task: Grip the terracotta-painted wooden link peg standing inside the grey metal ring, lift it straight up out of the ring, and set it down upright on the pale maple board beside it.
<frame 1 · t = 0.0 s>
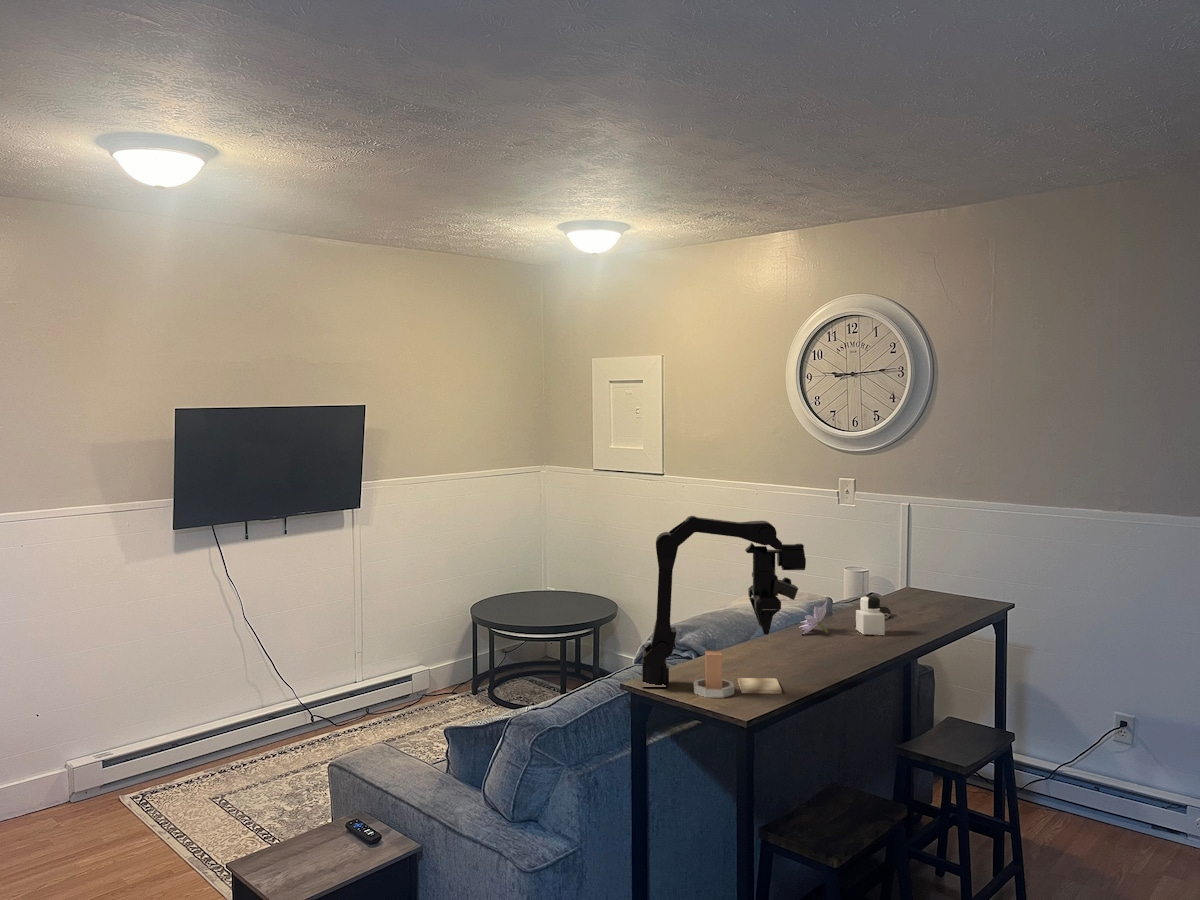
hand: (764, 630, 229), 15 cm above the table, tool pointing down, fingers open, 9 cm apart
hairbrush: (870, 622, 307), on the table
metal ring: (713, 691, 225), on the table
medicine bottle: (870, 634, 287), on the table
link peg: (713, 672, 225), in the metal ring
maple board: (759, 687, 229), on the table
water lily: (813, 633, 289), on the table
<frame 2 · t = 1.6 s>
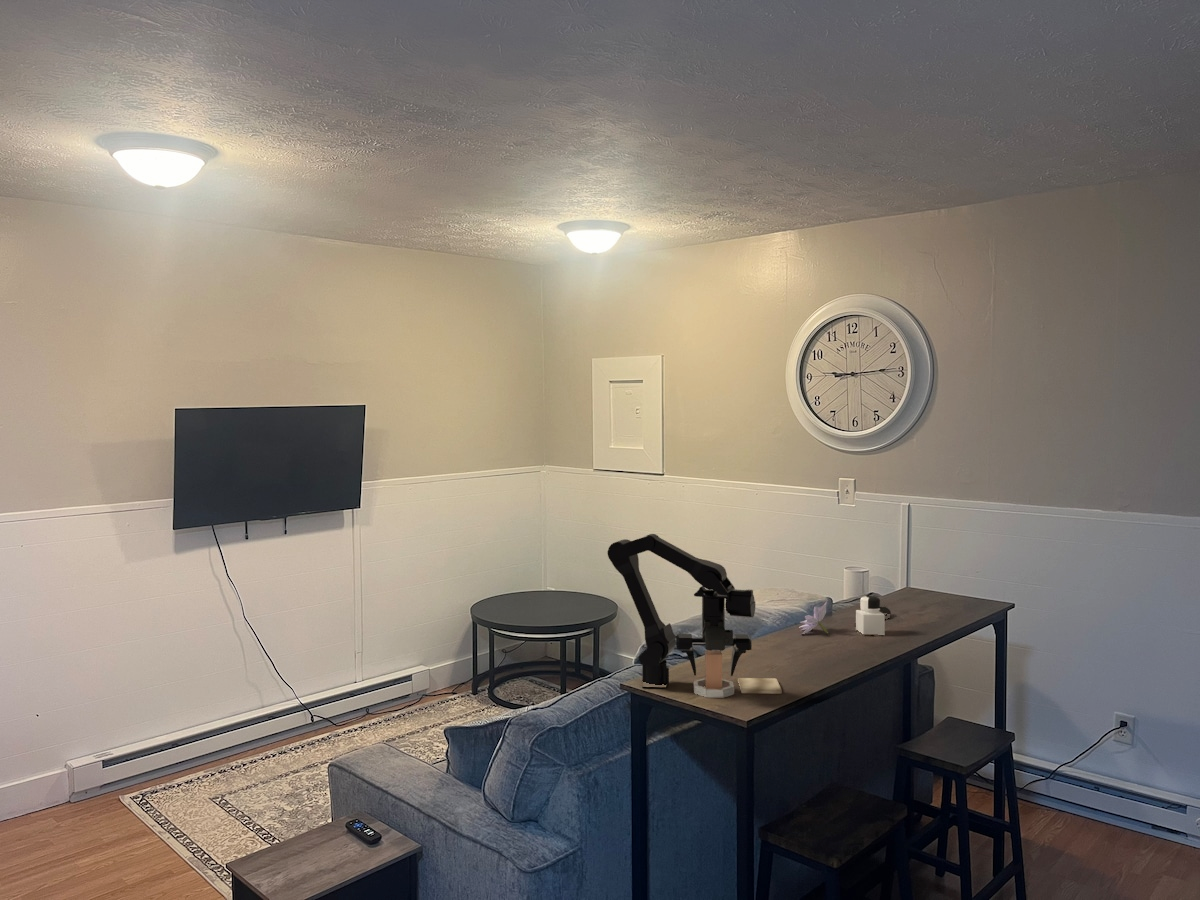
hand: (713, 675, 225), 4 cm above the table, tool pointing down, fingers open, 9 cm apart
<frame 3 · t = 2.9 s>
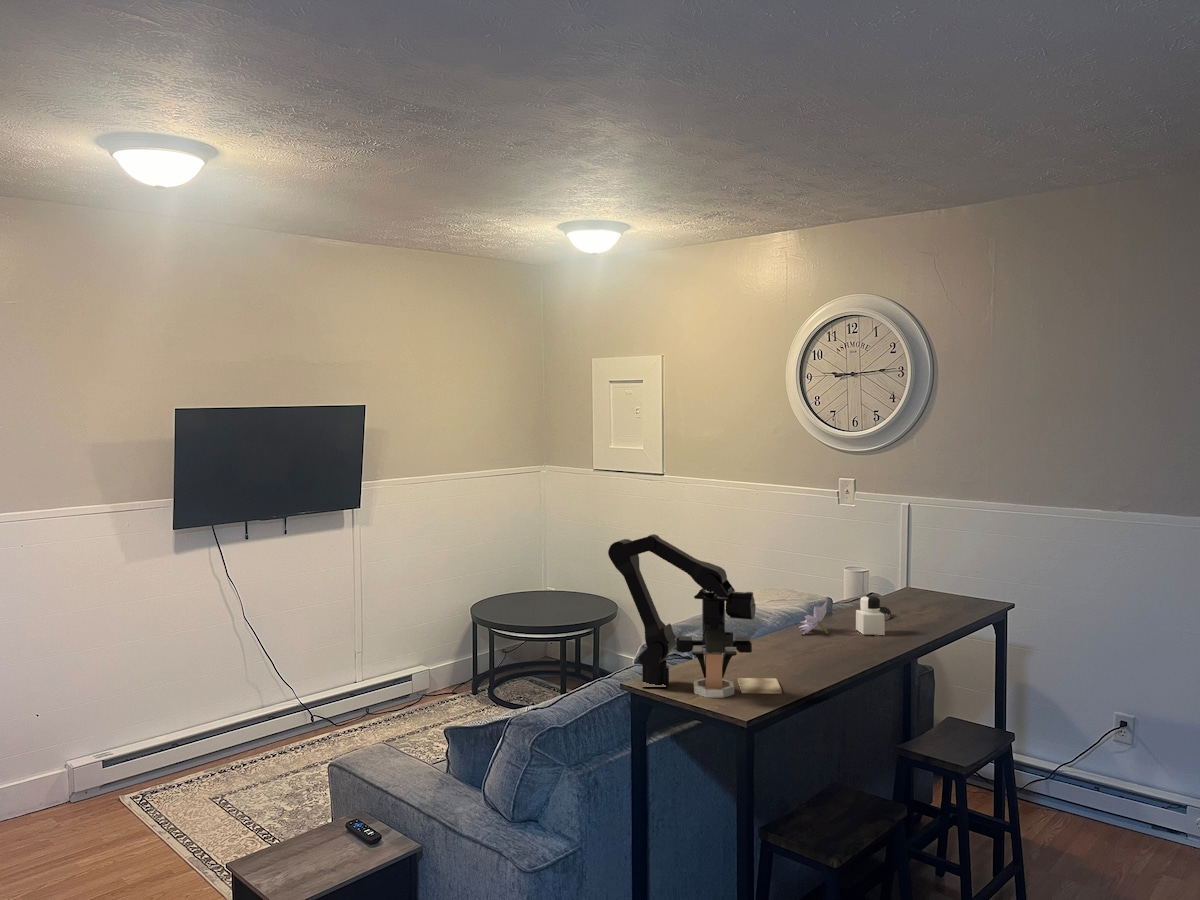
hand: (713, 677, 225), 4 cm above the table, tool pointing down, fingers closed on link peg, 4 cm apart
link peg: (713, 672, 225), in the metal ring, touching gripper
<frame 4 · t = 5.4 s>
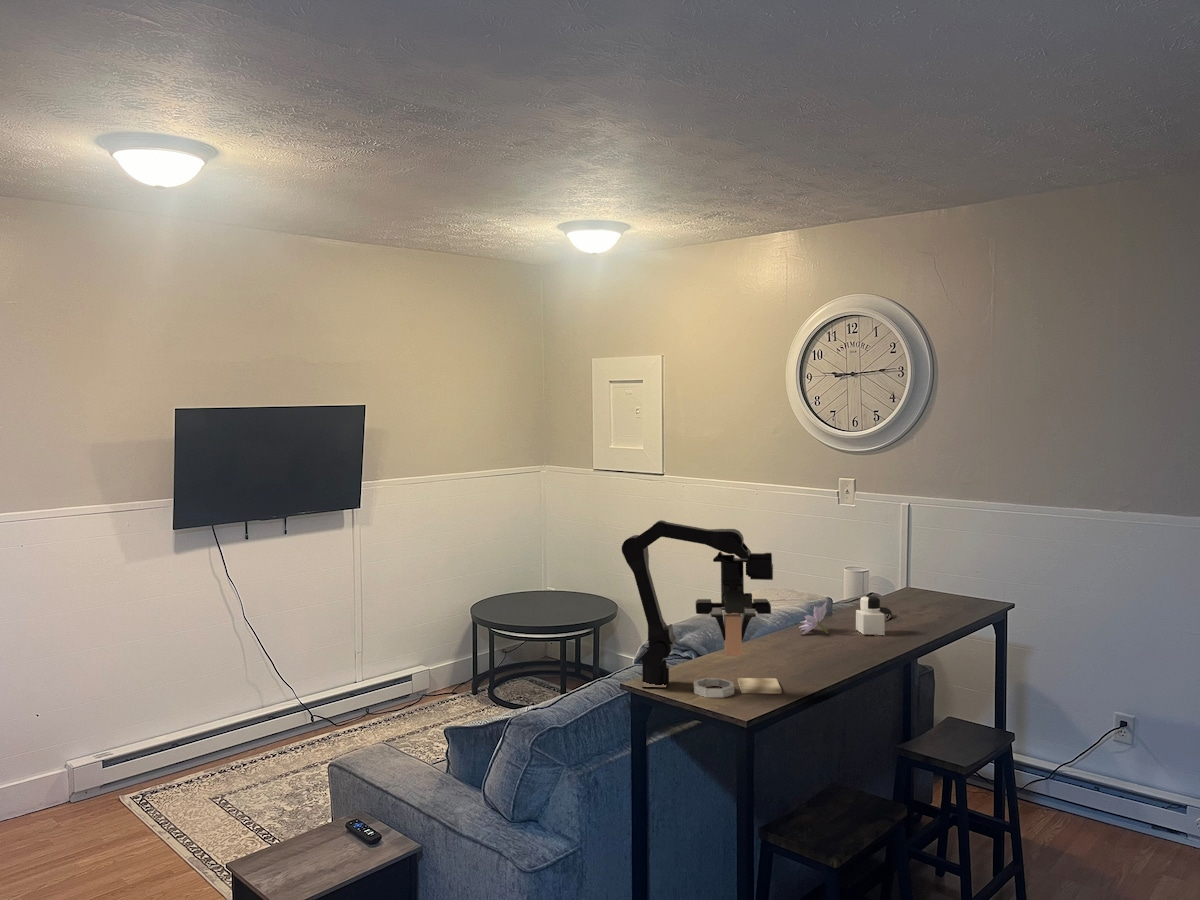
hand: (733, 640, 226), 13 cm above the table, tool pointing down, fingers closed on link peg, 4 cm apart
link peg: (732, 634, 226), point 14 cm above the table, touching gripper
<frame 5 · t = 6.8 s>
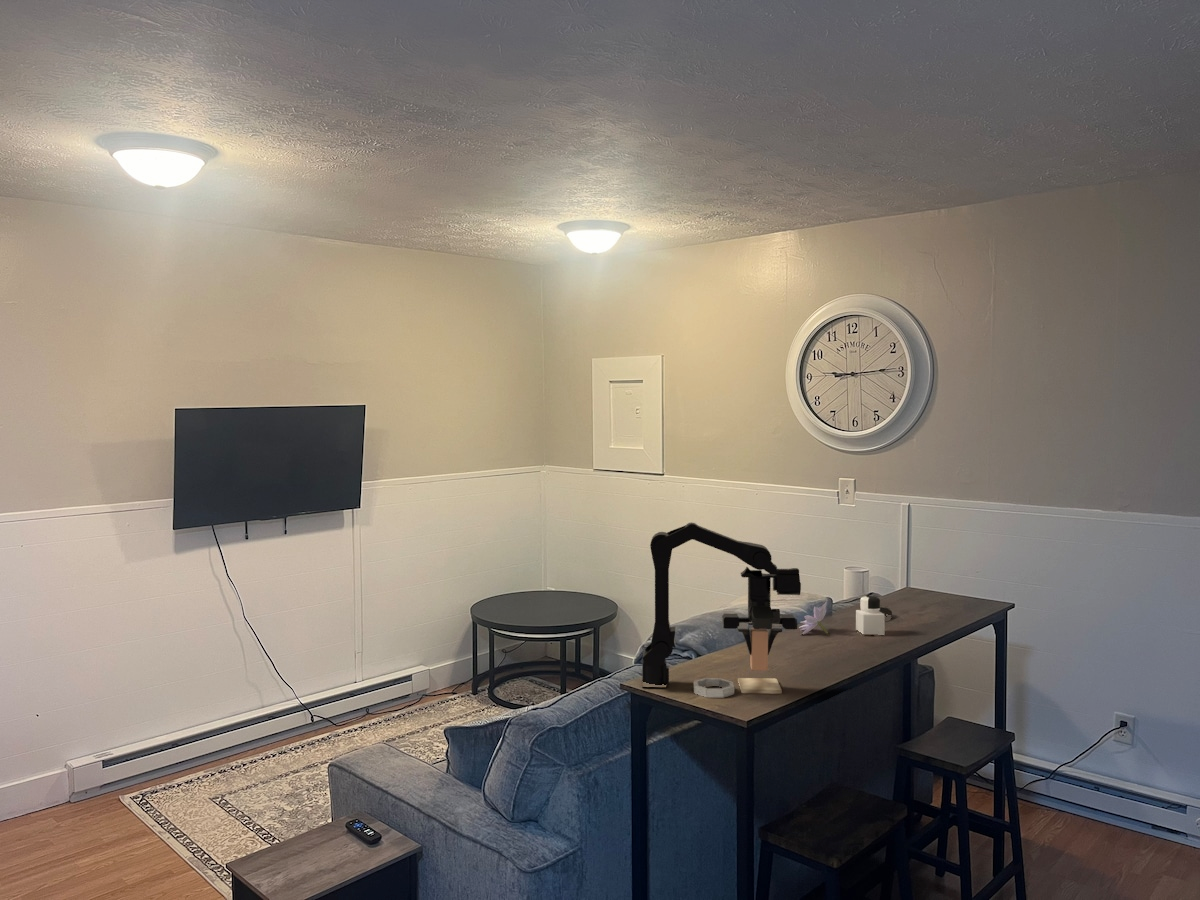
hand: (759, 654, 228), 9 cm above the table, tool pointing down, fingers closed on link peg, 4 cm apart
link peg: (759, 648, 228), point 10 cm above the table, touching gripper
when the fingers open (6 cm above the table, at t = 8.1 s): link peg drops 1 cm, resting on maple board.
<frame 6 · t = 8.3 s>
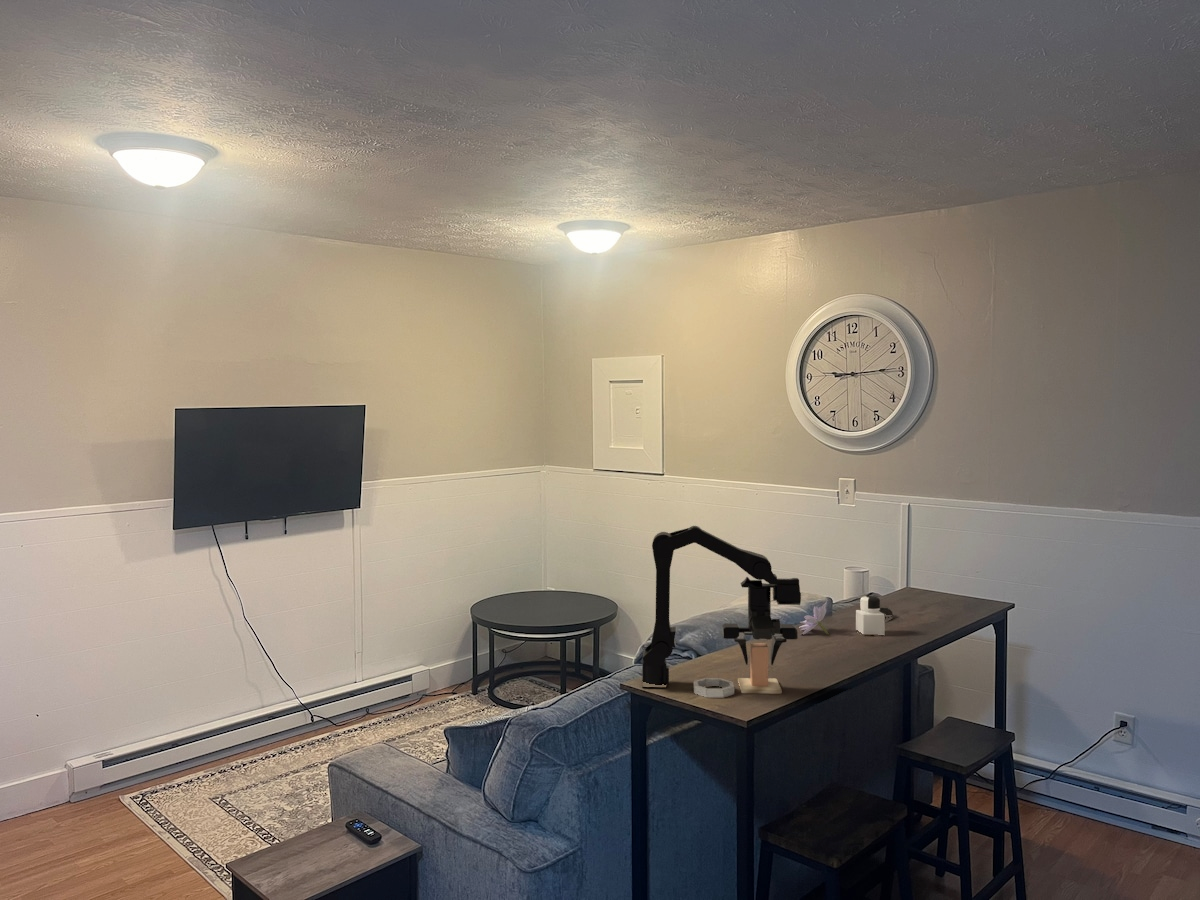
hand: (759, 664, 228), 6 cm above the table, tool pointing down, fingers open, 6 cm apart
link peg: (759, 664, 228), on the maple board, point 6 cm above the table
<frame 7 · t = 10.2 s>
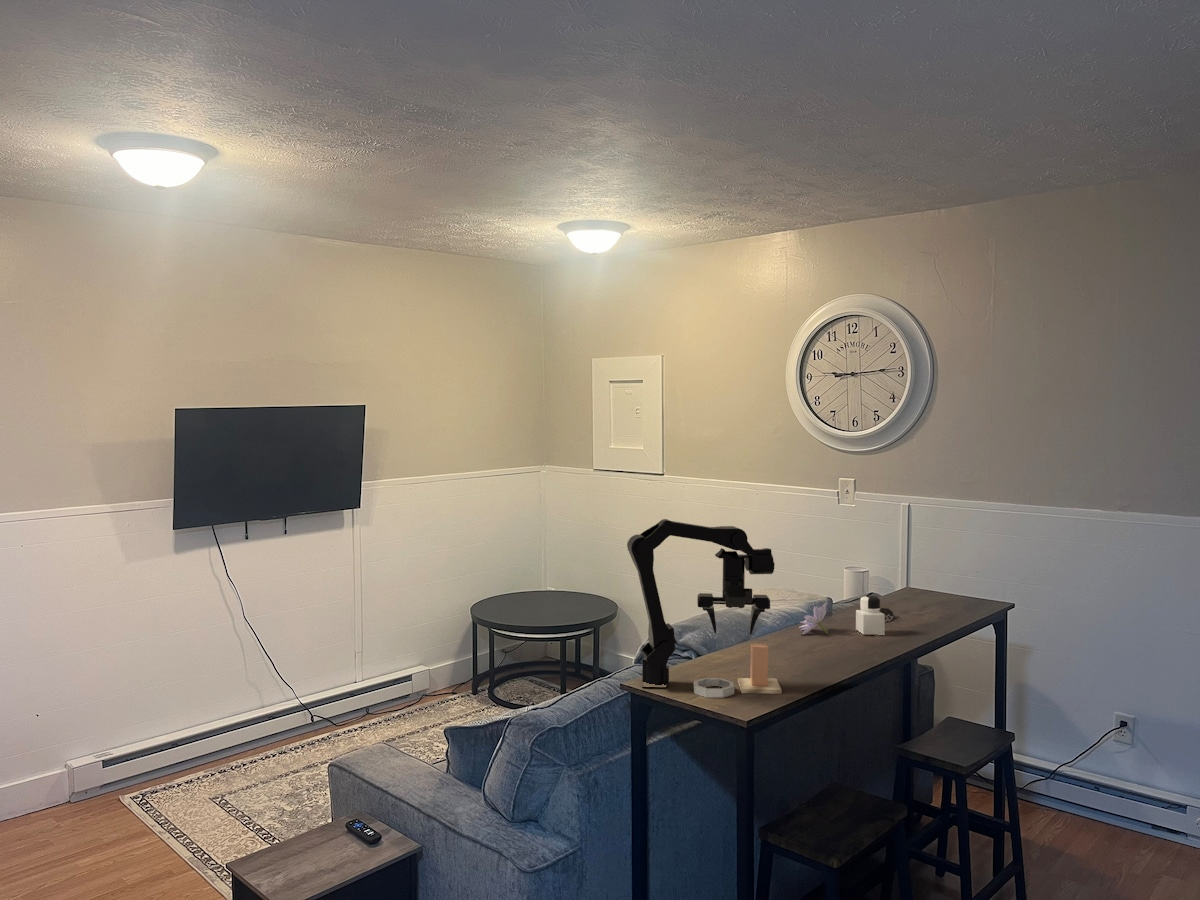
hand: (732, 633, 234), 13 cm above the table, tool pointing down, fingers open, 9 cm apart
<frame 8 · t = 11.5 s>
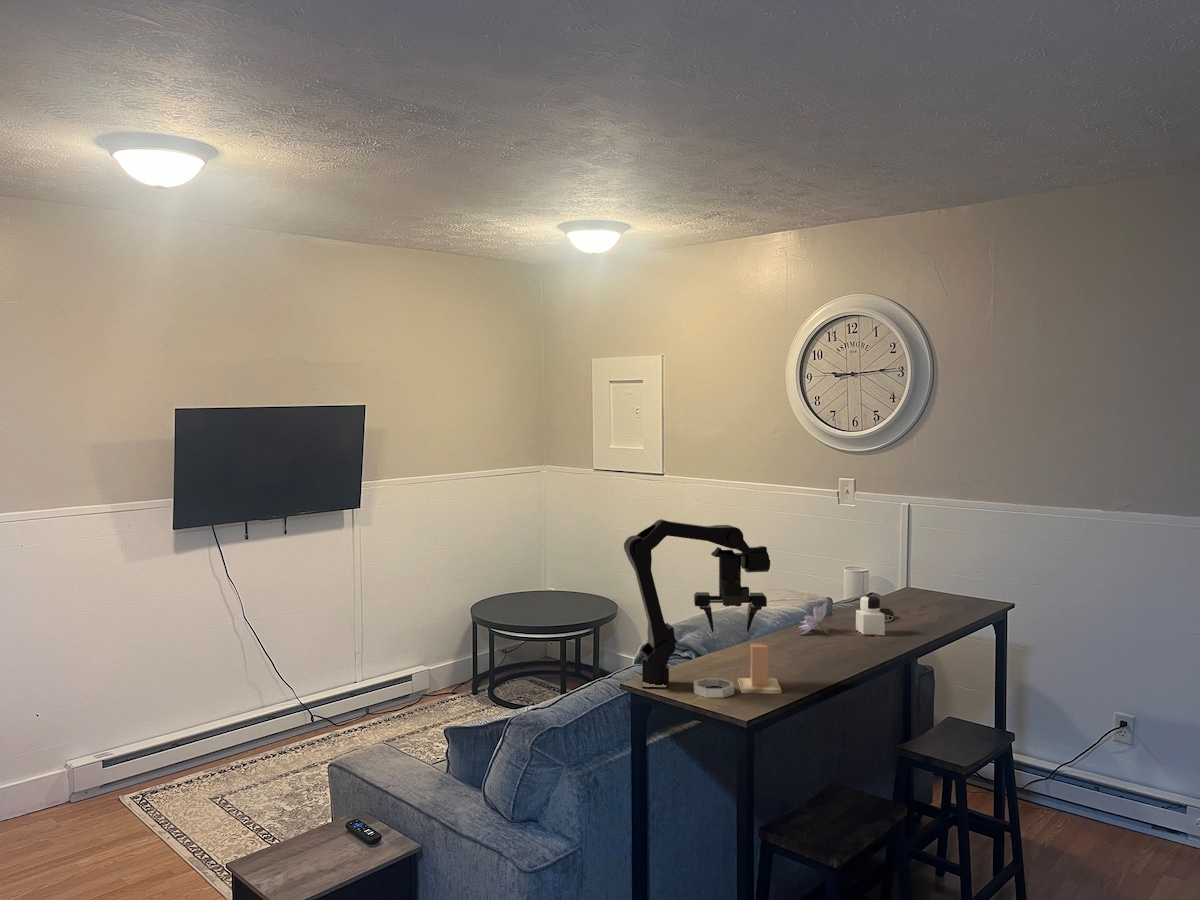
hand: (730, 631, 235), 13 cm above the table, tool pointing down, fingers open, 9 cm apart
at the end: link peg 0.0 cm off-centre on the maple board, point 6.0 cm above the maple board's base; link peg tilted 0°; the gripper is holding nothing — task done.
